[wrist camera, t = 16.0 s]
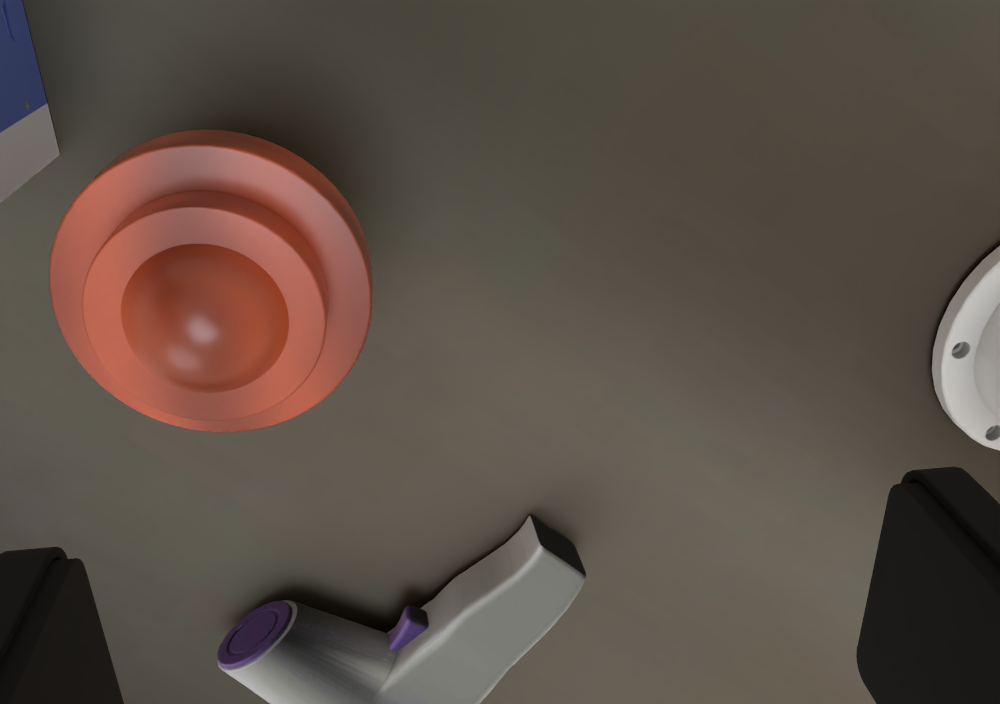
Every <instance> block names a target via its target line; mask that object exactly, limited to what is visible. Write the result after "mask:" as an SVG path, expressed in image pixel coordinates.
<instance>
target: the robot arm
mask: <svg viewBox="0 0 1000 704" xmlns="http://www.w3.org/2000/svg"><path fill="white" fill-rule="evenodd" d="M932 375H933V381H934V388H935V392H936V394H937V397H938V399H939V401H940V404H941V406H942V408H943V410H944V411H945V412H946V413H947V415H948V416H949V417H950V418H951V420H952V421H953V422H954V423H955V424H956V425H957V426H958V427H959V428H960V429H962V430H963V431H964V432H965V433H966V434H967V435H968V436H969V437H971V438H972V439H974V440H975V441H977V442H979V443H980V444H982V445H984V446H986V447H989V448H993V449H996V450H999V451H1000V246H999V247H998V248H996V249H995V250H994V251H993V252H992V253H990V254H989V255H988V256H987V257H986V258H984V259H983V260H982V262H981V263H980V264H979V265H978V266H977V267H976V268H975V269H974V270H973V272H972V273H971V274H970V275H969V276H968V277H967V278H966V279H965V281H964V282H963V284H962V285H961V287H960V288H959V290H958V291H957V293H956V294H955V296H954V297H953V299H952V300H951V302H950V303H949V306H948V308H947V310H946V312H945V314H944V316H943V319H942V321H941V323H940V325H939V328H938V332H937V336H936V340H935V344H934V347H933V359H932ZM857 664H858V669H859V672H860V675H861V678H862V680H863V682H864V684H865V686H866V687H867V689H868V690H869V692H870V694H871V695H872V697H873V699H874V700H875V702H876V703H877V704H1000V504H999V503H998V502H997V501H996V500H995V499H994V498H993V497H992V496H991V495H990V494H989V493H988V492H987V491H986V490H985V489H984V488H983V487H982V486H981V485H980V484H979V483H978V482H977V481H975V480H974V479H973V478H972V477H971V476H970V475H969V474H968V473H967V472H966V471H964V470H963V469H962V468H958V467H945V468H934V469H923V470H912V471H910V472H907V473H906V474H905V476H904V477H903V479H902V481H901V484H896V485H894V486H893V487H892V488H891V490H890V493H889V496H888V501H887V505H886V510H885V515H884V520H883V525H882V530H881V535H880V539H879V544H878V549H877V554H876V559H875V564H874V569H873V574H872V578H871V583H870V588H869V593H868V598H867V603H866V608H865V613H864V617H863V622H862V627H861V632H860V637H859V642H858V647H857ZM0 704H124V703H123V699H122V696H121V692H120V689H119V685H118V682H117V678H116V674H115V671H114V667H113V664H112V660H111V657H110V653H109V650H108V646H107V643H106V639H105V636H104V632H103V629H102V625H101V622H100V618H99V615H98V611H97V608H96V604H95V601H94V597H93V594H92V590H91V587H90V583H89V580H88V576H87V573H86V569H85V567H84V564H83V562H82V561H81V560H80V559H77V558H75V559H68V558H67V556H66V553H65V552H64V551H63V550H62V548H59V547H49V548H37V549H26V550H15V551H6V552H3V553H1V554H0Z"/></svg>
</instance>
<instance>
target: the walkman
mask: <svg viewBox="0 0 1000 704" xmlns="http://www.w3.org/2000/svg"><path fill="white" fill-rule="evenodd" d="M59 155H60V153H59V149H58V145H57V140H56V136H55V132H54V128H53V124H52V120H51V116H50V112H49V108H48V103H47V101H46V97H45V92H44V88H43V84H42V80H41V76H40V72H39V68H38V64H37V60H36V56H35V52H34V48H33V44H32V40H31V35H30V31H29V27H28V23H27V19H26V15H25V11H24V7H23V3H22V0H0V203H1V202H2V201H4V200H5V199H6V198H7V197H9V196H10V195H11V194H12V193H13V192H15V191H16V190H17V189H18V188H20V187H21V186H22V185H23V184H25V183H26V182H27V181H28V180H29V179H31V178H32V177H33V176H34V175H36V174H37V173H38V172H39V171H41V170H42V169H43V168H44V167H45V166H47V165H48V164H49V163H50V162H52V161H53V160H54V159H55V158H57V157H58V156H59Z"/></svg>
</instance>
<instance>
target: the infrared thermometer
mask: <svg viewBox="0 0 1000 704" xmlns="http://www.w3.org/2000/svg"><path fill="white" fill-rule="evenodd" d="M585 579H586V573H585V570H584V567H583V565H582V562H581V560H580V557H579V555H578V553H577V550H576V548H575V546H574V545H573V543H571V542H570V541H569V540H568V539H566V538H565V537H564V536H562V535H561V534H559V533H558V532H556V531H555V530H554V529H552V528H551V527H549V526H548V525H546V524H545V523H543V522H542V521H540V520H539V519H537V518H536V517H534V516H533V515H530V516H529V517H528V518H527V520H526V522H525V523H524V524H523V526H522V527H521V528H520V530H519V531H518V532H517V533H516V534H515V535H514V536H513V537H512V538H511V539H510V540H508V541H507V542H506V543H505V544H504V545H502V546H501V547H500V548H498V549H497V550H495V551H494V552H492V553H491V554H490V555H488V556H487V557H485V558H484V559H482V560H481V561H479V562H478V563H476V564H475V565H473V566H472V567H470V568H469V569H467V570H466V571H464V572H463V573H461V574H460V575H458V576H457V577H455V578H454V579H453V580H452V581H451V582H450V583H449V584H448V585H447V586H446V587H444V588H443V589H442V591H441V592H440V593H439V594H438V595H437V596H436V597H435V598H434V599H433V600H431V601H430V602H428V603H427V604H425V605H424V606H423V607H421V608H418V607H414V606H410V605H409V606H406V607H405V609H404V611H403V614H402V616H401V618H400V620H399V622H398V624H397V625H396V627H394V628H393V629H392V630H391V631H389V632H388V633H384V632H381V631H379V630H376V629H373V628H370V627H367V626H364V625H361V624H358V623H355V622H352V621H349V620H346V619H344V618H341V617H338V616H335V615H332V614H329V613H326V612H323V611H320V610H318V609H315V608H312V607H309V606H306V605H303V604H300V603H297V602H294V601H289V600H282V601H274V602H271V603H268V604H265V605H263V606H261V607H259V608H257V609H256V610H254V611H253V612H251V613H250V614H248V615H247V616H246V617H244V618H243V619H242V620H241V621H240V622H238V623H237V624H236V625H235V626H234V627H233V628H232V629H231V630H230V632H229V633H228V634H227V636H226V637H225V638H224V640H223V641H222V643H221V645H220V647H219V650H218V653H217V660H218V665H219V667H220V668H221V669H222V670H223V671H224V672H226V673H227V674H229V675H230V676H232V677H233V678H235V679H236V680H238V681H239V682H240V683H242V684H243V685H245V686H246V687H248V688H249V689H250V690H252V691H253V692H255V693H256V694H257V695H259V696H260V697H262V698H263V699H265V700H266V701H267V702H269V703H270V704H479V703H480V702H481V701H482V700H483V699H484V698H485V697H486V696H487V695H488V694H489V693H490V691H491V690H492V689H493V688H494V686H495V685H496V684H497V683H498V681H499V680H500V679H501V678H502V677H503V675H504V674H505V673H506V672H507V671H508V669H509V668H510V667H511V666H513V665H514V664H515V663H516V662H517V661H518V660H519V659H520V658H521V657H522V656H523V655H524V654H525V653H526V652H527V651H528V650H529V649H530V648H531V647H532V646H533V645H534V644H535V643H536V642H537V641H538V640H539V639H540V638H541V637H543V636H544V635H545V634H546V633H547V632H548V631H549V630H550V628H551V627H552V626H553V625H554V624H555V623H556V621H557V620H558V619H559V618H560V617H561V616H562V615H563V613H564V612H565V611H566V610H567V609H568V607H569V606H570V604H571V603H572V601H573V600H574V599H575V597H576V596H577V594H578V592H579V591H580V589H581V587H582V585H583V583H584V581H585Z"/></svg>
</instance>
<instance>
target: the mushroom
mask: <svg viewBox="0 0 1000 704" xmlns="http://www.w3.org/2000/svg"><path fill="white" fill-rule="evenodd" d="M49 289H50V295H51V300H52V306H53V310H54V313H55V316H56V319H57V322H58V325H59V328H60V330H61V332H62V334H63V336H64V338H65V340H66V342H67V344H68V346H69V348H70V349H71V351H72V352H73V354H74V355H75V357H76V358H77V360H78V361H79V363H80V364H81V365H82V366H83V367H84V368H85V369H86V371H87V372H88V373H89V374H90V375H91V376H92V378H93V379H95V380H96V381H97V382H98V383H99V384H100V385H101V386H102V387H103V388H104V389H106V390H107V391H108V392H109V393H111V394H112V395H113V396H115V397H116V398H118V399H119V400H120V401H122V402H123V403H125V404H126V405H128V406H130V407H132V408H133V409H135V410H137V411H139V412H141V413H143V414H145V415H147V416H150V417H152V418H154V419H157V420H159V421H162V422H165V423H168V424H171V425H175V426H178V427H182V428H187V429H193V430H198V431H208V432H241V431H248V430H256V429H260V428H264V427H268V426H272V425H276V424H278V423H281V422H284V421H286V420H289V419H291V418H294V417H296V416H297V415H299V414H301V413H303V412H305V411H307V410H309V409H310V408H312V407H313V406H315V405H316V404H317V403H319V402H320V401H322V400H323V399H324V398H326V397H327V396H328V395H329V394H330V393H331V392H332V391H333V390H334V389H335V388H336V387H337V386H338V385H339V384H340V383H341V382H342V380H343V379H344V378H345V377H346V376H347V374H348V373H349V372H350V370H351V368H352V367H353V365H354V364H355V362H356V360H357V359H358V357H359V355H360V352H361V350H362V348H363V345H364V343H365V340H366V337H367V333H368V329H369V326H370V319H371V311H372V265H371V259H370V253H369V248H368V245H367V242H366V239H365V235H364V232H363V230H362V228H361V226H360V224H359V221H358V219H357V217H356V215H355V214H354V212H353V210H352V209H351V207H350V206H349V204H348V202H347V201H346V199H345V198H344V197H343V196H342V194H341V193H340V192H339V191H338V190H337V188H336V187H335V186H334V185H333V183H331V182H330V181H329V180H328V179H327V178H326V177H325V176H324V175H323V174H322V173H321V172H320V171H319V170H318V169H316V168H315V167H313V166H312V165H311V164H309V163H308V162H307V161H305V160H304V159H303V158H301V157H300V156H298V155H296V154H294V153H292V152H291V151H289V150H287V149H285V148H283V147H281V146H279V145H276V144H274V143H272V142H269V141H267V140H264V139H262V138H258V137H254V136H250V135H247V134H243V133H238V132H231V131H224V130H191V131H182V132H175V133H171V134H167V135H163V136H159V137H156V138H154V139H151V140H149V141H146V142H144V143H141V144H139V145H137V146H135V147H133V148H132V149H130V150H128V151H127V152H125V153H123V154H121V155H120V156H119V157H117V158H116V159H115V160H114V161H112V162H111V163H110V164H109V165H107V166H106V167H105V168H104V169H103V170H102V171H101V172H100V173H99V174H98V175H97V176H96V177H95V178H94V179H93V180H92V181H91V182H90V183H89V184H88V185H87V186H86V187H85V188H84V189H83V191H82V192H81V193H80V194H79V195H78V196H77V197H76V198H75V200H74V201H73V203H72V204H71V206H70V207H69V209H68V210H67V212H66V213H65V215H64V217H63V219H62V221H61V223H60V225H59V228H58V230H57V232H56V235H55V239H54V242H53V246H52V250H51V256H50V265H49Z"/></svg>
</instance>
